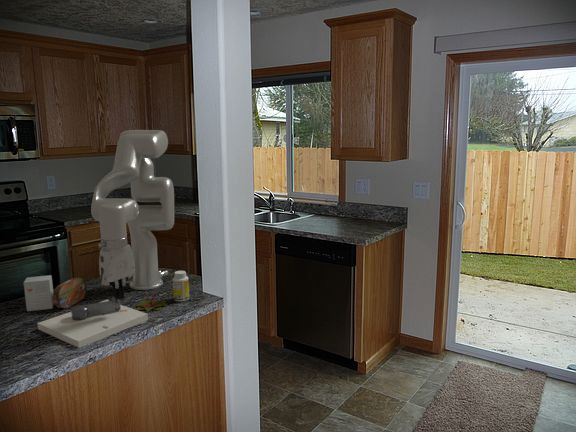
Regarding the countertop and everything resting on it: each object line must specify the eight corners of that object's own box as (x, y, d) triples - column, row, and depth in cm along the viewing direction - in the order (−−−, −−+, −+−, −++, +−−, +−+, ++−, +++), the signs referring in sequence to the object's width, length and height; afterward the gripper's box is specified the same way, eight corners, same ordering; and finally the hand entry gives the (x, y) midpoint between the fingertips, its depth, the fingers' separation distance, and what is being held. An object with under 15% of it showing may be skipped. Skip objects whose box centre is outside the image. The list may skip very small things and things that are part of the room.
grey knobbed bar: (72, 321, 145) (71, 308, 145) (70, 315, 150) (69, 303, 149) (122, 311, 153) (121, 299, 152) (119, 306, 157) (118, 294, 156)
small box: (55, 303, 166) (52, 274, 165) (52, 309, 161) (49, 279, 159) (29, 306, 164) (26, 277, 162) (26, 311, 159) (23, 282, 157)
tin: (60, 312, 159) (58, 288, 157) (52, 311, 159) (50, 287, 158) (88, 296, 173) (86, 274, 172) (80, 295, 174) (78, 274, 172)
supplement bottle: (187, 295, 174) (186, 269, 172) (191, 300, 169) (189, 273, 167) (171, 298, 172) (170, 271, 170) (175, 303, 167) (174, 275, 165)
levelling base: (106, 305, 164) (105, 295, 164) (147, 319, 152) (147, 309, 151) (38, 329, 145) (36, 318, 144) (79, 348, 133) (78, 336, 132)
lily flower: (138, 301, 169) (137, 289, 169) (172, 300, 170) (171, 288, 169) (129, 314, 158) (128, 301, 157) (165, 313, 158) (164, 300, 157)
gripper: (100, 250, 138) (105, 309, 142) (142, 239, 150) (145, 293, 154) (85, 246, 142) (91, 303, 146) (127, 235, 154) (131, 288, 158)
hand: (119, 298), depth 150 cm, fingers closed
